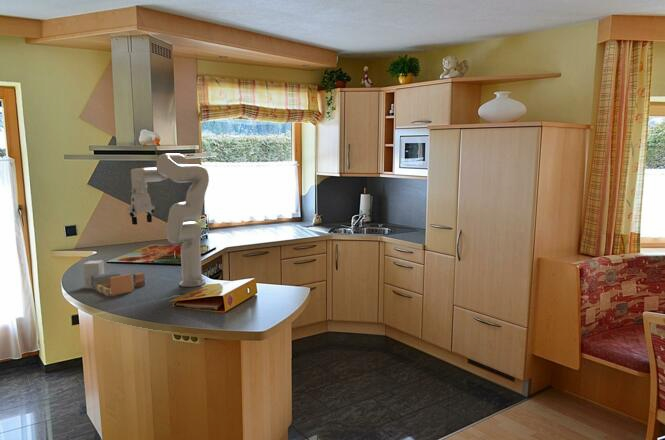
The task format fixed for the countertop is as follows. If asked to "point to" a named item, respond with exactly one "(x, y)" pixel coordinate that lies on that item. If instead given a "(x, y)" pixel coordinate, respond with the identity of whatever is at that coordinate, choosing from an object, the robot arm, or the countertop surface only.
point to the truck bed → (104, 282)
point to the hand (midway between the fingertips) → (142, 223)
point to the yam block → (138, 279)
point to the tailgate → (121, 284)
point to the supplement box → (92, 271)
